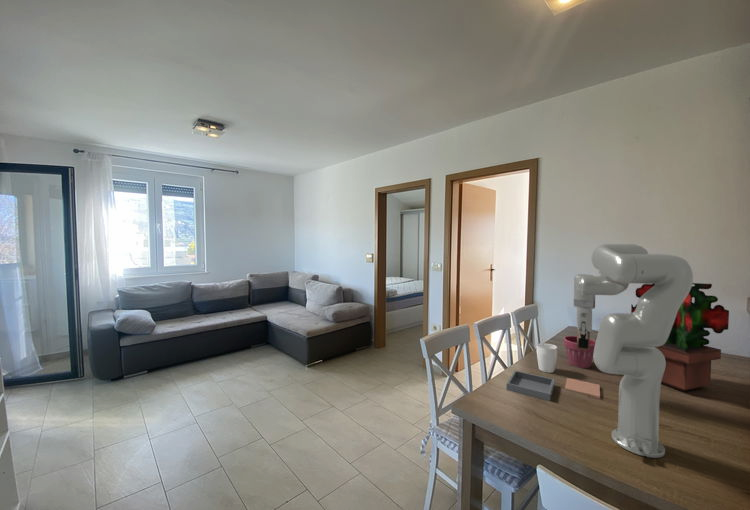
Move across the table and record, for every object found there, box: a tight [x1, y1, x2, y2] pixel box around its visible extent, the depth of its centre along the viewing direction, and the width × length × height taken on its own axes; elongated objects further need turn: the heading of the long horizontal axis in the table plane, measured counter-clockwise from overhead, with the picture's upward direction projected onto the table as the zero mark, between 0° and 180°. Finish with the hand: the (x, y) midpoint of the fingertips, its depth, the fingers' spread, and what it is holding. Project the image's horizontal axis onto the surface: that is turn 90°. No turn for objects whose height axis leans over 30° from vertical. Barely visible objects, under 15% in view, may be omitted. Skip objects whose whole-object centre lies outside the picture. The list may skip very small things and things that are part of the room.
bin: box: [506, 370, 555, 402], centre depth 130 cm, size 16×16×4 cm
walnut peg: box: [576, 328, 591, 350], centre depth 129 cm, size 4×4×8 cm
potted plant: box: [630, 282, 730, 392], centre depth 133 cm, size 22×22×45 cm
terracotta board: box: [564, 377, 601, 400], centre depth 130 cm, size 12×12×1 cm
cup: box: [536, 342, 558, 373], centre depth 149 cm, size 9×9×12 cm
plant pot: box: [563, 335, 596, 369], centre depth 155 cm, size 14×14×13 cm
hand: (583, 345), depth 129 cm, fingers closed on walnut peg, 4 cm apart
